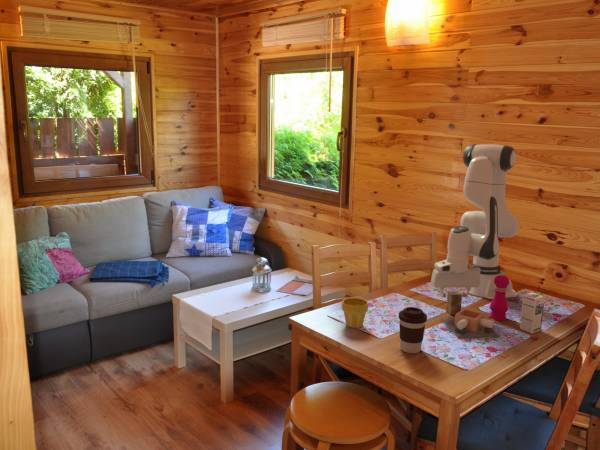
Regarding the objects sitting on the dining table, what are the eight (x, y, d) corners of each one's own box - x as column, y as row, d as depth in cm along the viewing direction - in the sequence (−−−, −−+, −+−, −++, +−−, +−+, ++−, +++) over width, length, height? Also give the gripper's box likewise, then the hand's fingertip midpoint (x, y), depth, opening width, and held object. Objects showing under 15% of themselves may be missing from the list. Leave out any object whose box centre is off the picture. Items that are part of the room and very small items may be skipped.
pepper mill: (485, 317, 217) (490, 271, 213) (493, 312, 222) (497, 268, 218) (502, 322, 212) (507, 275, 208) (509, 317, 217) (514, 271, 213)
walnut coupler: (456, 310, 224) (457, 291, 222) (460, 314, 219) (462, 294, 217) (446, 310, 223) (447, 291, 221) (450, 315, 219) (451, 294, 217)
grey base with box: (441, 319, 214) (442, 305, 212) (478, 318, 215) (479, 305, 214) (458, 338, 196) (459, 323, 195) (498, 337, 198) (500, 322, 196)
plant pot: (346, 317, 214) (347, 295, 212) (370, 322, 210) (371, 299, 207) (337, 326, 205) (338, 303, 203) (362, 332, 200) (363, 308, 198)
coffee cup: (407, 357, 180) (409, 317, 177) (391, 345, 189) (393, 307, 186) (430, 352, 184) (433, 313, 181) (413, 341, 193) (416, 303, 190)
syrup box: (532, 333, 201) (536, 298, 198) (519, 328, 206) (522, 294, 203) (541, 330, 204) (545, 296, 201) (527, 325, 209) (531, 291, 206)
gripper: (477, 263, 221) (474, 294, 223) (431, 263, 219) (428, 294, 221) (484, 267, 214) (480, 299, 217) (436, 267, 212) (433, 299, 215)
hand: (454, 296), depth 219 cm, fingers open, 8 cm apart
